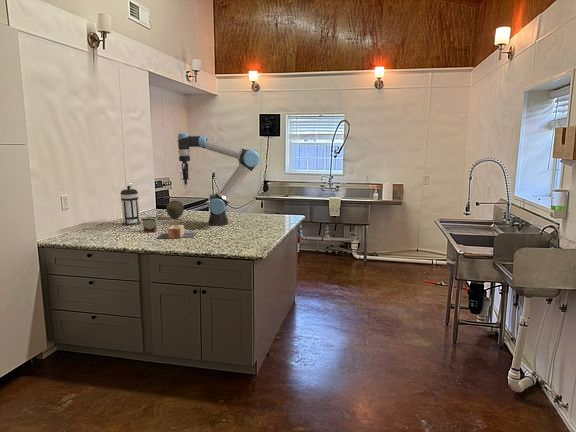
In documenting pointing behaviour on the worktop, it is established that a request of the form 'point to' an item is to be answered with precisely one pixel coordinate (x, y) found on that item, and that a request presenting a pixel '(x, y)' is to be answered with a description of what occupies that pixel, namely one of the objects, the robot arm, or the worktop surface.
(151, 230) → the food container
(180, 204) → the cantaloupe
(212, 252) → the worktop surface
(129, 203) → the coffee press
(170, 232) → the maple block
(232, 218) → the worktop surface
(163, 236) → the rubber mat
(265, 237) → the worktop surface
